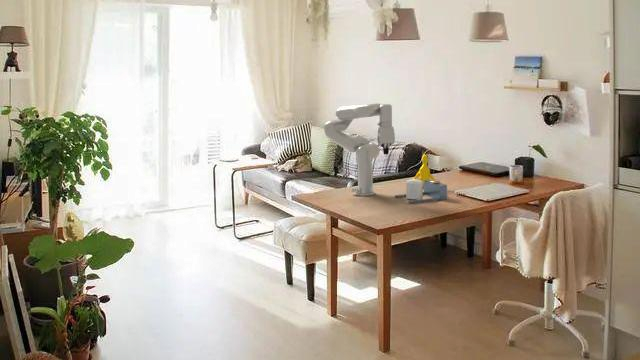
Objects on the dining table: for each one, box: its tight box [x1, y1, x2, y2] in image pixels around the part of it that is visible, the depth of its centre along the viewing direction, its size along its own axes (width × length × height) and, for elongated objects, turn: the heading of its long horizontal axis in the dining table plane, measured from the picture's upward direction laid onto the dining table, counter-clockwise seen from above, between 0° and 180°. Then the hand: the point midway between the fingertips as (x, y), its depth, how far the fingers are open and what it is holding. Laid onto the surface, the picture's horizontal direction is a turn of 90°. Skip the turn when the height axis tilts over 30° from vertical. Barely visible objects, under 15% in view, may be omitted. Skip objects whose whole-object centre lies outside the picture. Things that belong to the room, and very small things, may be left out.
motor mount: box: [394, 179, 448, 205], centre depth 356 cm, size 26×19×10 cm
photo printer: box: [405, 178, 424, 201], centre depth 356 cm, size 10×4×12 cm, turn 61°
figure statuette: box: [412, 154, 437, 188], centre depth 387 cm, size 18×8×22 cm, turn 93°
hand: (386, 154), depth 359 cm, fingers closed
